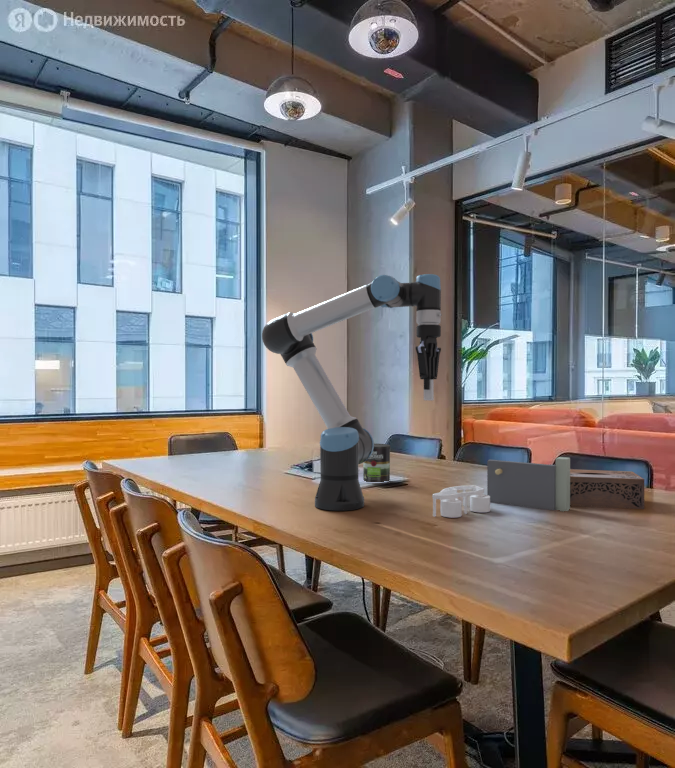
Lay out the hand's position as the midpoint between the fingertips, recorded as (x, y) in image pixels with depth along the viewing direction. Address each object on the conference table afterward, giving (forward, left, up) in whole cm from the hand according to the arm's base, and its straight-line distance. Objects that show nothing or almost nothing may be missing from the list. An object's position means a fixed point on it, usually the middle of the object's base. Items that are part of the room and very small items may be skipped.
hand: (428, 400), depth 181 cm
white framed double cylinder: (-9, -14, -33) cm, 37 cm away
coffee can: (+22, +33, -33) cm, 51 cm away
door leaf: (+9, -26, -32) cm, 43 cm away
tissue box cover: (+28, -42, -33) cm, 60 cm away
